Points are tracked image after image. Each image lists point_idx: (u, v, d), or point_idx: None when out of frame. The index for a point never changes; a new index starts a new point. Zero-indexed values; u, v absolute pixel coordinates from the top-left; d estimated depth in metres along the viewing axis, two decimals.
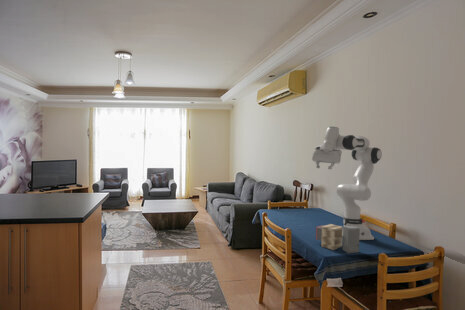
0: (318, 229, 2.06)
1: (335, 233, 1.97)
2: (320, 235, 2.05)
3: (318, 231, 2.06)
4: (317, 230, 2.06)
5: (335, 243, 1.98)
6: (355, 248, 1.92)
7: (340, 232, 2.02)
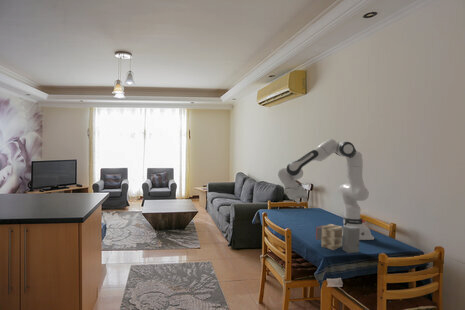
0: (318, 229, 2.06)
1: (335, 233, 1.97)
2: (320, 235, 2.05)
3: (318, 231, 2.06)
4: (317, 230, 2.06)
5: (335, 243, 1.98)
6: (355, 248, 1.92)
7: (340, 232, 2.02)
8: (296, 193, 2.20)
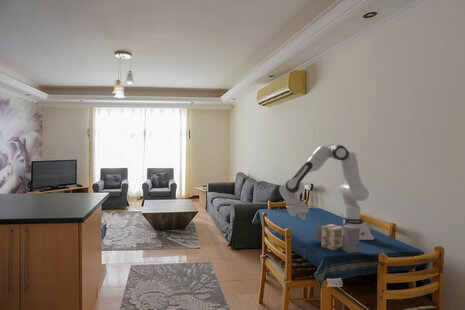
0: (318, 229, 2.06)
1: (335, 233, 1.97)
2: (320, 235, 2.05)
3: (318, 231, 2.06)
4: (317, 230, 2.06)
5: (335, 243, 1.98)
6: (355, 248, 1.92)
7: (340, 232, 2.02)
8: (297, 209, 2.19)
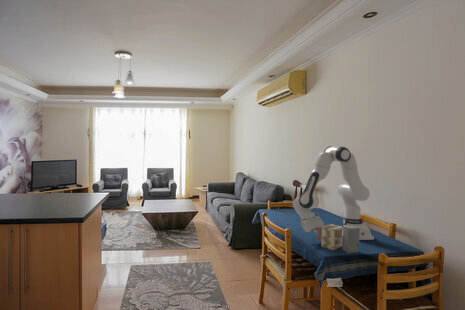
0: (319, 229, 2.05)
1: (335, 233, 1.97)
2: (321, 235, 2.04)
3: (319, 231, 2.05)
4: (318, 230, 2.06)
5: (335, 243, 1.98)
6: (355, 248, 1.92)
7: (340, 232, 2.02)
8: (313, 225, 2.10)
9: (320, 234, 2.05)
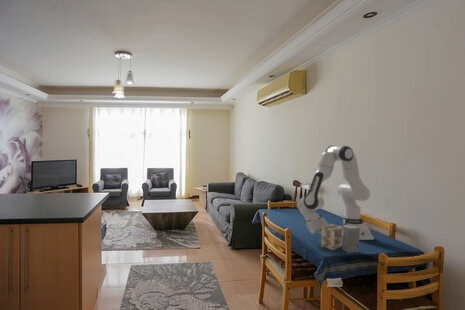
0: None
1: (335, 233, 1.97)
2: None
3: None
4: None
5: (335, 243, 1.98)
6: (355, 248, 1.92)
7: (340, 232, 2.02)
8: (318, 226, 2.07)
9: None
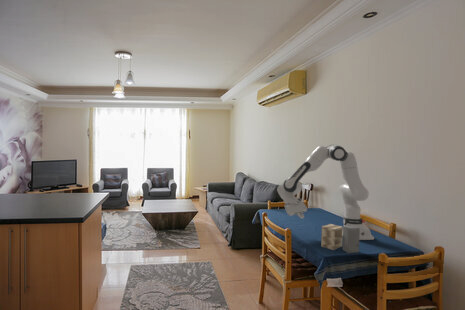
0: None
1: (335, 233, 1.97)
2: None
3: None
4: None
5: (335, 243, 1.98)
6: (355, 248, 1.92)
7: (340, 232, 2.02)
8: (296, 209, 2.21)
9: None
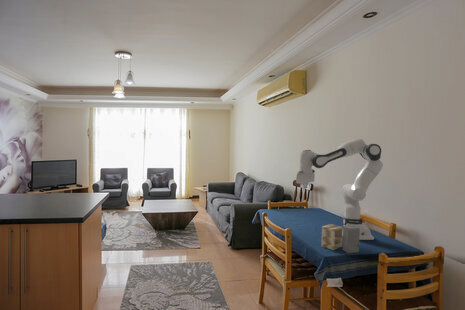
0: None
1: (335, 233, 1.97)
2: None
3: None
4: None
5: (335, 243, 1.98)
6: (355, 248, 1.92)
7: (340, 232, 2.02)
8: (305, 180, 2.32)
9: None
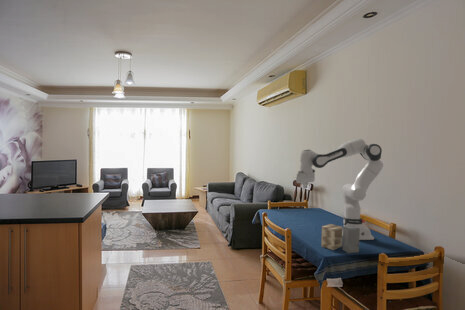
0: None
1: (335, 233, 1.97)
2: None
3: None
4: None
5: (335, 243, 1.98)
6: (355, 248, 1.92)
7: (340, 232, 2.02)
8: (305, 179, 2.32)
9: None
